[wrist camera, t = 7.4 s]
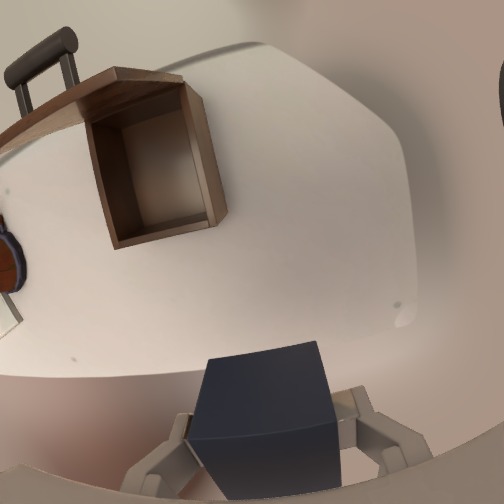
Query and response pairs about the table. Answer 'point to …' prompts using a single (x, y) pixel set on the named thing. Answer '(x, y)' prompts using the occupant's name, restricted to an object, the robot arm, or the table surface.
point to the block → (267, 424)
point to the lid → (72, 89)
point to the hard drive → (7, 315)
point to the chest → (156, 167)
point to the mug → (10, 263)
